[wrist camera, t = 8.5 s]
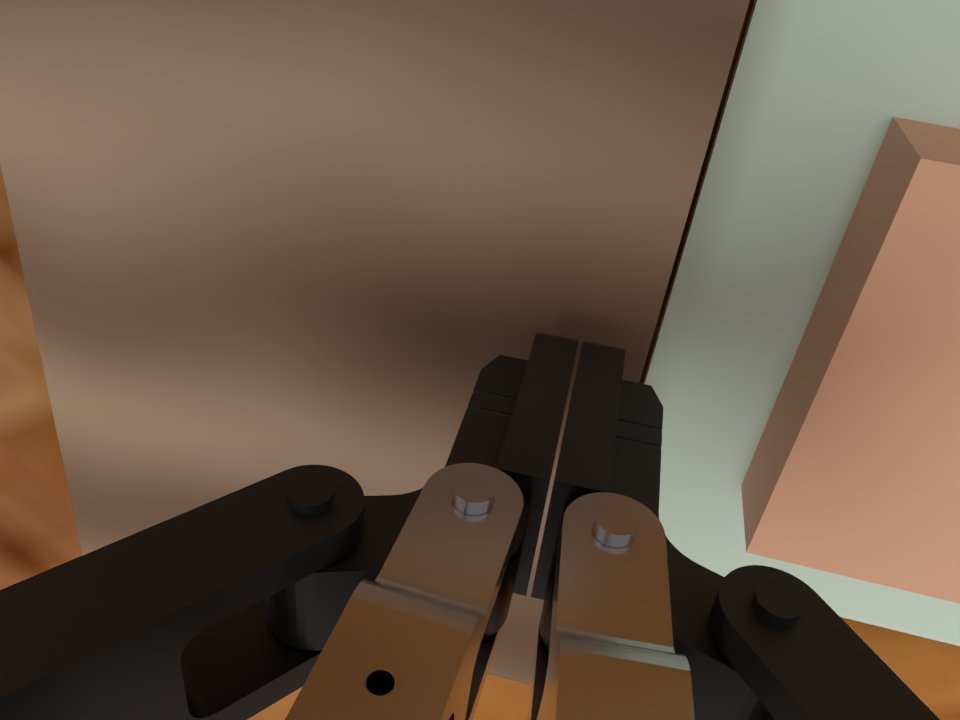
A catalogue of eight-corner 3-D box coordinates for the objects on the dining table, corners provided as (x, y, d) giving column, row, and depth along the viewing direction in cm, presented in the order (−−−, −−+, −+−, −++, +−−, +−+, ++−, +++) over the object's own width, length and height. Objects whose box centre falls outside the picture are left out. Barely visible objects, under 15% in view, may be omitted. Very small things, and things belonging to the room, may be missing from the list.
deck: (73, -321, 14) (-110, -360, 11) (784, -217, 13) (815, -227, 10) (166, 466, 24) (85, 567, 21) (570, 566, 23) (550, 690, 20)
